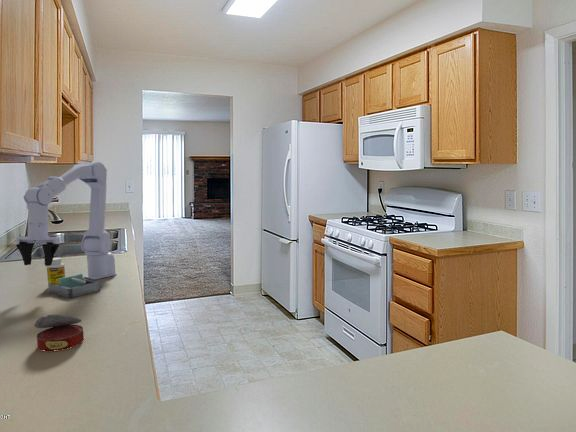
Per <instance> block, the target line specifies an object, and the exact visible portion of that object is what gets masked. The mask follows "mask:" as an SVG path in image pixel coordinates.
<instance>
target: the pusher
mask: <svg viewBox="0 0 576 432" xmlns="http://www.w3.org/2000/svg"><path fill="white" fill-rule="evenodd" d="M83 278H84V276H83V273H79V274H73V275H70V276H69V275H68V276H65V277H64V278H59V285H61V286H64V287H68V288H73V287H78V286H82V285H83V283H84V284H85V283H86V281H85V280H83Z"/></svg>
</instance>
